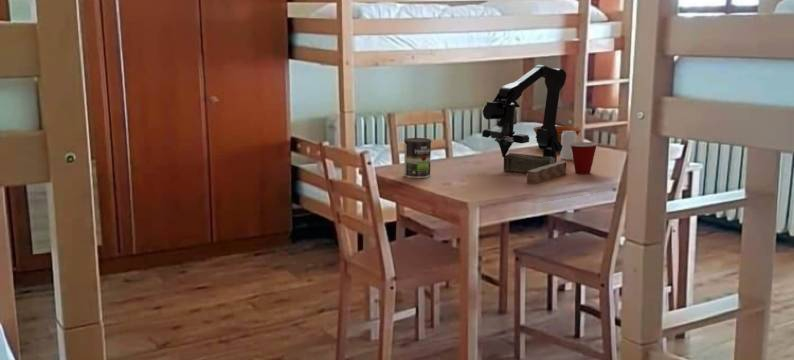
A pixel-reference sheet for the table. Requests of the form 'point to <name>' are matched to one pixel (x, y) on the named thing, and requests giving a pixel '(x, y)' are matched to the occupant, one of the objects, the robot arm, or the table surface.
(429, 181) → the table surface
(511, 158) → the beverage carton
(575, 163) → the plastic cup
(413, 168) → the coffee can
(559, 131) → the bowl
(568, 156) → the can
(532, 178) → the batten
